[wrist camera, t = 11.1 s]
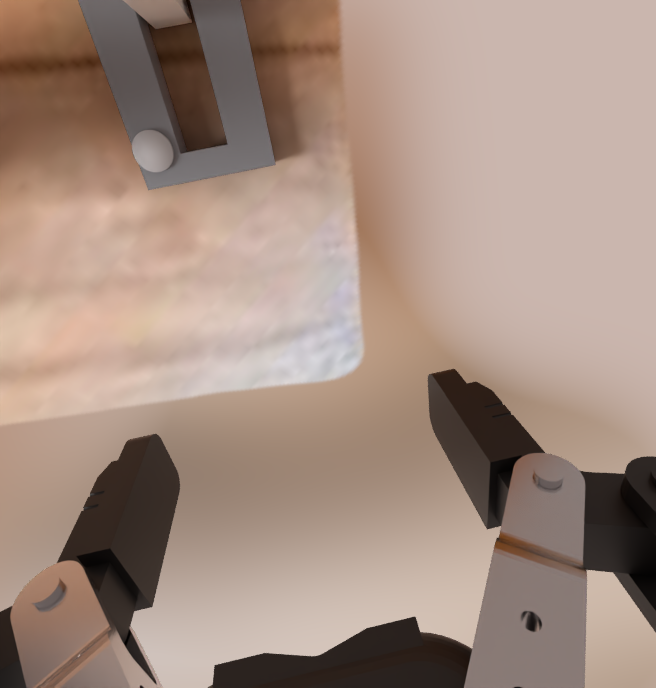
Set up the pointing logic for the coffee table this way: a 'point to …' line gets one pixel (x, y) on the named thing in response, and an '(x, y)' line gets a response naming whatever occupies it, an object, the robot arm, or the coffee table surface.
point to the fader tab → (162, 12)
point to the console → (155, 102)
